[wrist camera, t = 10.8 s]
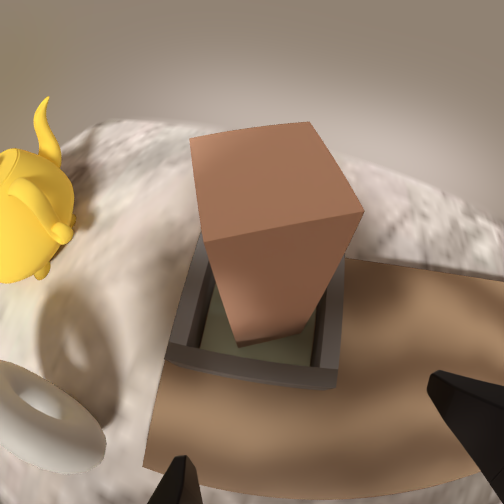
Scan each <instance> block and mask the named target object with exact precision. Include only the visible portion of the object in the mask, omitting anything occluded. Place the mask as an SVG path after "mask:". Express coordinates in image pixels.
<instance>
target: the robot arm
mask: <svg viewBox="0 0 504 504" xmlns="http://www.w3.org/2000/svg"><path fill="white" fill-rule="evenodd" d="M427 394H428V396H429V397H430V399H431V400H432V402H433V404H434V405H435V407H436V409H437V410H438V412H439V414H440V416H441V417H442V419H443V420H444V422H445V423H446V425H447V426H448V427H449V428H450V430H451V431H452V432H453V434H454V435H455V436H456V438H457V439H458V440H459V442H460V443H461V444H462V446H463V447H464V448H465V450H466V451H467V453H468V454H469V455H470V457H471V458H472V459H473V461H474V462H475V464H476V465H477V466H478V468H479V469H480V471H481V472H482V473H483V475H484V476H485V478H486V479H487V481H488V482H489V483H490V485H491V487H492V488H493V490H494V491H495V493H496V494H497V496H498V497H499V499H500V500H501V502H502V503H503V504H504V386H502V385H498V384H494V383H489V382H485V381H481V380H477V379H473V378H469V377H465V376H461V375H458V374H454V373H450V372H447V371H443V370H437V371H435V372H433V373H432V374H431V375H430V377H429V381H428V385H427ZM147 504H203V502H202V497H201V492H200V487H199V481H198V475H197V470H196V467H195V466H194V464H193V463H192V461H191V460H190V458H189V457H188V456H187V455H178V456H175V457H174V458H173V460H172V462H171V464H170V465H169V467H168V469H167V471H166V472H165V474H164V476H163V477H162V479H161V481H160V483H159V484H158V486H157V488H156V489H155V491H154V493H153V495H152V496H151V498H150V500H149V501H148V503H147Z"/></svg>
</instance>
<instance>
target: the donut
mask: <svg viewBox="0 0 504 504" xmlns="http://www.w3.org/2000/svg"><path fill="white" fill-rule="evenodd" d="M106 444H107V443H106V438H105V435H104V433H103V431H102V429H101V427H100V425H99V423H98V421H97V420H96V419H95V418H94V417H93V416H92V415H91V414H90V412H89V411H88V410H87V409H86V408H84V407H83V406H82V405H81V404H80V403H79V402H77V401H76V400H75V399H74V398H72V397H71V396H70V395H68V394H67V393H66V392H64V391H63V390H61V389H60V388H58V387H56V386H55V385H53V384H52V383H50V382H49V381H47V380H45V379H44V378H42V377H40V376H38V375H37V374H35V373H33V372H31V371H29V370H27V369H25V368H23V367H21V366H18V365H16V364H13V363H11V362H7V361H3V360H0V445H1V446H2V447H3V448H5V449H6V450H7V451H9V452H10V453H11V454H13V455H14V456H16V457H17V458H19V459H20V460H22V461H25V462H27V463H29V464H31V465H33V466H35V467H37V468H40V469H42V470H46V471H50V472H55V473H59V474H78V473H86V472H88V471H89V470H91V469H93V468H94V467H96V466H98V465H99V464H101V462H102V460H103V459H104V455H105V450H106Z"/></svg>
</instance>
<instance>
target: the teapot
mask: <svg viewBox="0 0 504 504" xmlns="http://www.w3.org/2000/svg"><path fill="white" fill-rule="evenodd" d="M48 101H49V96H48V97H46V98H45V99H44V100H43V101H42V103H41V104H40V105H39V107H38V108H37V110H36V112H35V116H34V128H35V131H36V134H37V137H38V141H39V153H38V155H37V154H34V153H31V152H28V151H25V150H21V149H16V148H13V149H8V150H5V151H3V152H2V153H0V283H5V284H6V283H14V282H17V281H21V280H23V279H25V278H28V277H30V276H32V275H33V274H34V276H35V278H36V279H37V280H42V279H44V278H45V277H46V276H47V275H48V273H49V271H50V262H49V261H50V259H51V258H52V257H53V256H54V254H55V253H56V251H57V250H58V248H59V247H60V245H61V244H62V245H64V244H67V243H68V242H69V241H70V240H71V239H72V237H73V229H72V227H73V226H74V224H75V222H76V216H75V215H74V214H72V212H73V206H74V191H73V187H72V184H71V182H70V180H69V179H68V177H67V176H66V175H65V173H64V172H63V171H62V170H61V169H60V167H61V150H60V147H59V144H58V142H57V140H56V138H55V136H54V135H53V133H52V131H51V129H50V127H49V125H48V122H47V118H46V108H47V104H48Z"/></svg>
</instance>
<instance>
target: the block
mask: <svg viewBox="0 0 504 504" xmlns="http://www.w3.org/2000/svg"><path fill="white" fill-rule="evenodd" d="M190 148H191V157H192V165H193V173H194V180H195V188H196V195H197V202H198V209H199V216H200V223H201V229H202V236H203V242H204V246H205V249H206V252H207V255H208V259H209V262H210V265H211V268H212V271H213V275H214V278H215V281H216V284H217V287H218V290H219V293H220V296H221V299H222V302H223V305H224V308H225V311H226V314H227V317H228V320H229V323H230V326H231V329H232V332H233V335H234V338H235V341H236V344H237V346H238V348H241V347H245V346H250V345H255V344H259V343H263V342H268V341H272V340H276V339H280V338H284V337H288V336H292V335H296V334H300V333H301V332H302V330H303V329H304V327H305V325H306V324H307V322H308V320H309V318H310V317H311V315H312V313H313V311H314V310H315V308H316V306H317V304H318V302H319V301H320V299H321V297H322V295H323V293H324V291H325V290H326V288H327V286H328V284H329V282H330V280H331V278H332V276H333V275H334V273H335V271H336V269H337V267H338V265H339V263H340V261H341V259H342V257H343V255H344V253H345V251H346V249H347V247H348V245H349V243H350V241H351V239H352V237H353V235H354V233H355V231H356V228H357V226H358V224H359V222H360V220H361V218H362V216H363V213H364V209H363V207H362V205H361V204H360V202H359V200H358V198H357V196H356V195H355V193H354V191H353V189H352V188H351V186H350V184H349V183H348V181H347V179H346V177H345V176H344V174H343V172H342V171H341V169H340V168H339V166H338V164H337V163H336V161H335V160H334V158H333V156H332V155H331V153H330V152H329V150H328V149H327V147H326V146H325V144H324V143H323V141H322V139H321V138H320V136H319V135H318V133H317V132H316V130H315V129H314V128H313V126H312V125H311V123H310V122H299V123H288V124H278V125H269V126H261V127H254V128H246V129H239V130H233V131H227V132H221V133H215V134H210V135H205V136H200V137H195V138H190Z"/></svg>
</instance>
